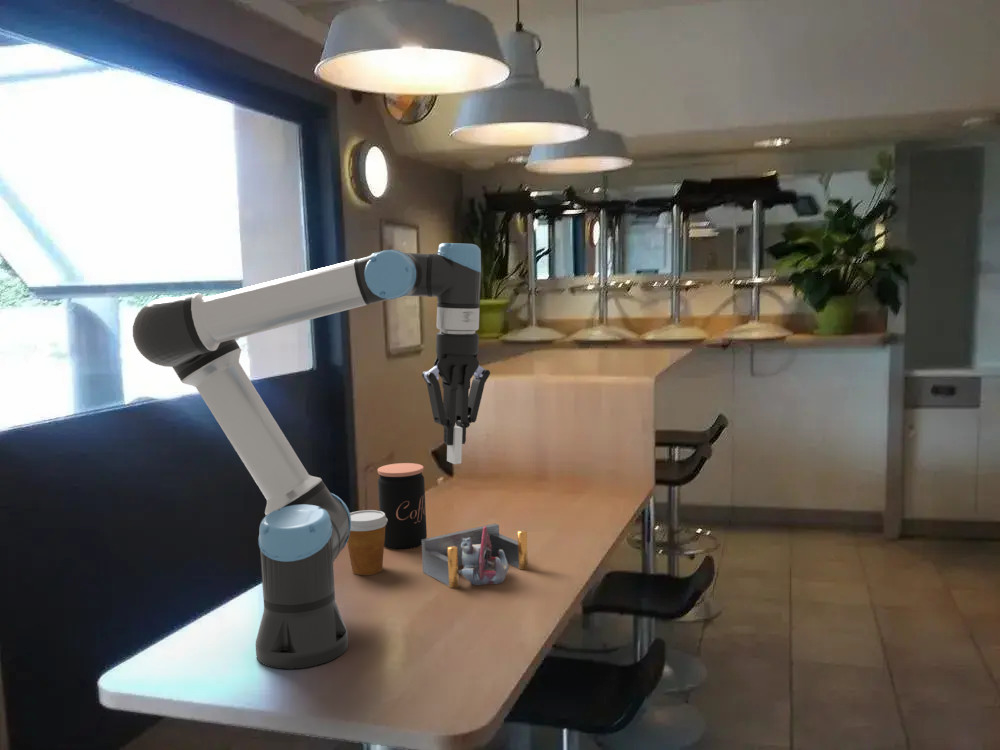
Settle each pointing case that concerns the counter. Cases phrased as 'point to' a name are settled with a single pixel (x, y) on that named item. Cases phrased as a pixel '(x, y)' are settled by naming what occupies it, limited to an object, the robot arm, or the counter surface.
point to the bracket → (447, 553)
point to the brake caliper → (482, 562)
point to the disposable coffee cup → (367, 541)
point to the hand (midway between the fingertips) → (454, 462)
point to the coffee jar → (403, 504)
